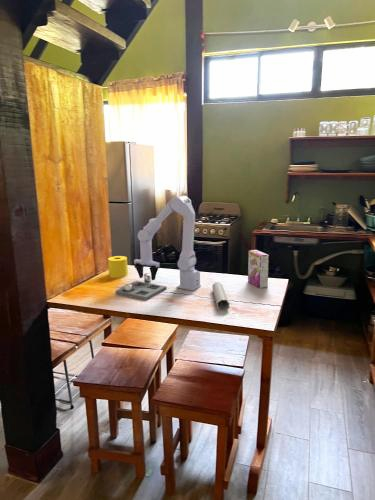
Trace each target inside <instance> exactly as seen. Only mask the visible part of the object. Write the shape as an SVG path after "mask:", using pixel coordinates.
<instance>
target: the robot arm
mask: <svg viewBox="0 0 375 500" xmlns="http://www.w3.org/2000/svg"><path fill="white" fill-rule="evenodd" d="M173 212H176V213H178V214H180V215H181V217H183V228H182V241H181V242H182V243H181V246H182V247H181V252H180V254H179V259H178V260H177V267H178V269H179V285H177V286H176V288H178V289H183V290H188V291H195V290H197V289H198V288H200V287H201V286H202V285H201V273H200V271H199V270H197V269H195V265H196V264H197V257H196V251H194V243H195V242H194V240H195V227H196V226H195V225H196V224H195V223H196V212H195V209H194V207H193V204H192V200H191V199H190V198H189V197H188V196H186V195H184V194H183V195H180V196H174V197H172V198H171V199H170V200H169V201H168V202H167V203H166V205H165V206H164V207H163V209H161V211H160V212H159V214H157V216H156V217H155V218H150V219H149V220H148V223H147V224H146V225H145V226H143V227H142V228H143V229H141V230H139V231H138V233H137V239H138V240H139V248H140V259H137V258H136V259H134V260H133V264H135V265H134V268H135V269H136V271H137V274H138V276H139V279H143V278H144V266H148V267H149V266H150V267H149V271H150V279H151V281H155V280H156V277H157V273H158V270H159V268H160V266H161V265H160V262H158V261H154V260H153V248H152V245H153V244H152V242H153V241H152V240H153V239H154V236H155V234H156V233H157V232H158V231H159V229H161V228H162V222H163V221H164V220H165V219H166V218H167V217H168V216H169V215H170V214H171V213H173Z"/></svg>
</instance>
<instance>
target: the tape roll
mask: <svg viewBox="0 0 375 500" xmlns="http://www.w3.org/2000/svg"><path fill="white" fill-rule="evenodd" d="M107 262H108V263H107V264H108V276H109V277H110V278H112V277H113V278H114V279H118V278H119V279H121V278H126V277H127V276H128V275H129V274H128V271H129V270H128V269H129V268H128V257H127V256H125V255H124V256H123V255H115V256H111V257H108V258H107Z"/></svg>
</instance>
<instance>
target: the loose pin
mask: <svg viewBox="0 0 375 500" xmlns="http://www.w3.org/2000/svg"><path fill="white" fill-rule="evenodd" d="M151 281H152V279H151V273H143V282H145V283H151Z"/></svg>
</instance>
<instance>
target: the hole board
mask: <svg viewBox="0 0 375 500" xmlns="http://www.w3.org/2000/svg"><path fill="white" fill-rule="evenodd" d="M130 284H131V285H132V292H130V293H129V292H125V285H124V286H123V287H120V288H118V289H116V290H115V292H114V293H115V295H121V296H124V297H129V298H134V299H139V300H144V301H149V300H151V299H152V298H154V297H155V296H157V295H159V294H160V293H161V294H162V292H163V293H164V291H166V290H167V285H166V286H165V285H160V284H155V283H151V282H150V283H145V282H144V281H139V280H135V281H133V282H131V283H130Z"/></svg>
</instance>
